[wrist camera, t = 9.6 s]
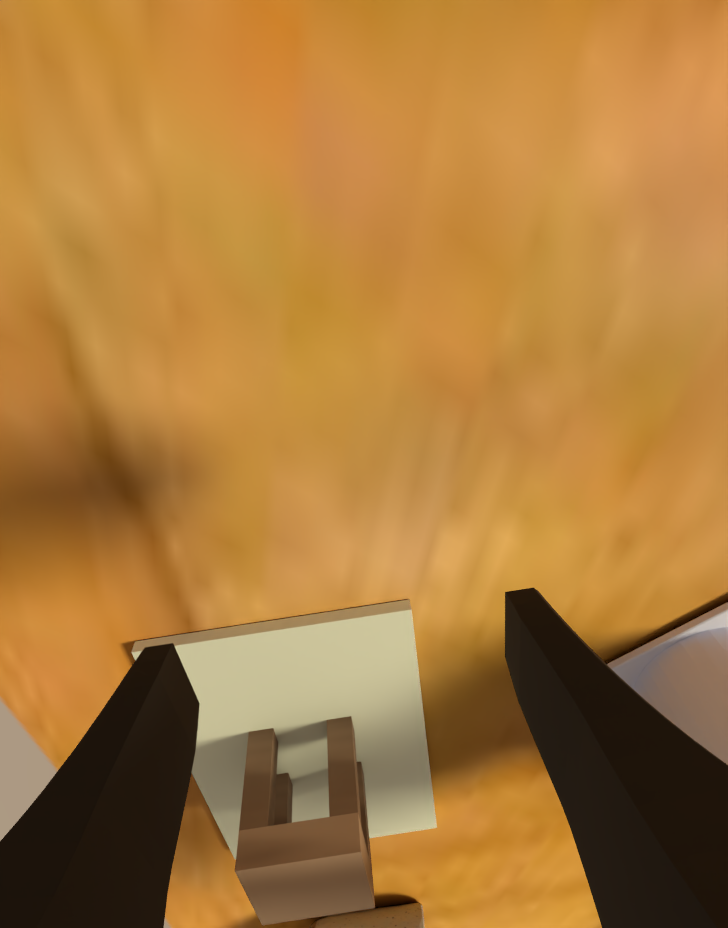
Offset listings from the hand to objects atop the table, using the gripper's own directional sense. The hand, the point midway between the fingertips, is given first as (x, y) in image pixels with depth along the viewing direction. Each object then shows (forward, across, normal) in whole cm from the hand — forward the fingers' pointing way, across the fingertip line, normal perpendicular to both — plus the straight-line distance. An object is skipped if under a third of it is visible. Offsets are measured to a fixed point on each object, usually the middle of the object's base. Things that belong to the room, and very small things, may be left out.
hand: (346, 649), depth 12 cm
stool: (+9, +4, +17) cm, 20 cm away
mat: (+9, +4, +17) cm, 20 cm away
